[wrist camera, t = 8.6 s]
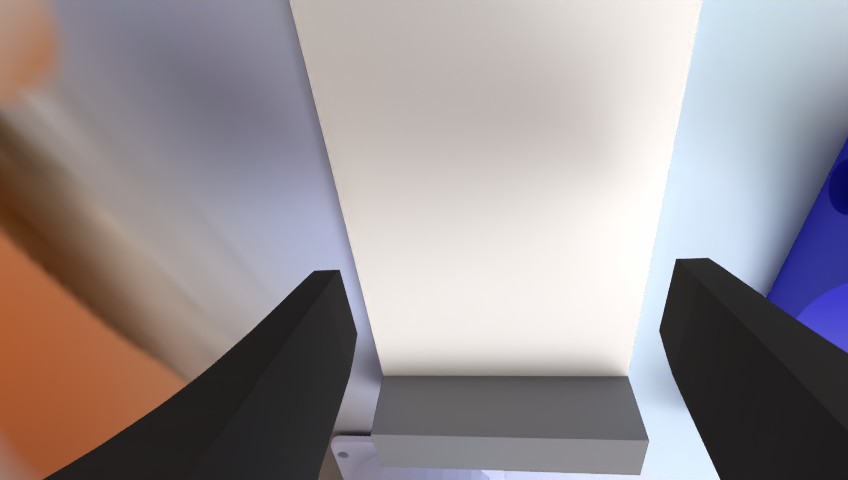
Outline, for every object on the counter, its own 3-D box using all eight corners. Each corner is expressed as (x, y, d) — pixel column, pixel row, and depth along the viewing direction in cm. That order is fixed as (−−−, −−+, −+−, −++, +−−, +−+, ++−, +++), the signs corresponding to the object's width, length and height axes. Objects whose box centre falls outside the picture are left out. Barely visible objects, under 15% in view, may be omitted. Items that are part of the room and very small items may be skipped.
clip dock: (615, 393, 18) (639, 475, 15) (394, 391, 19) (380, 466, 17) (733, -249, 8) (857, -335, 5) (262, -164, 10) (176, -199, 7)
